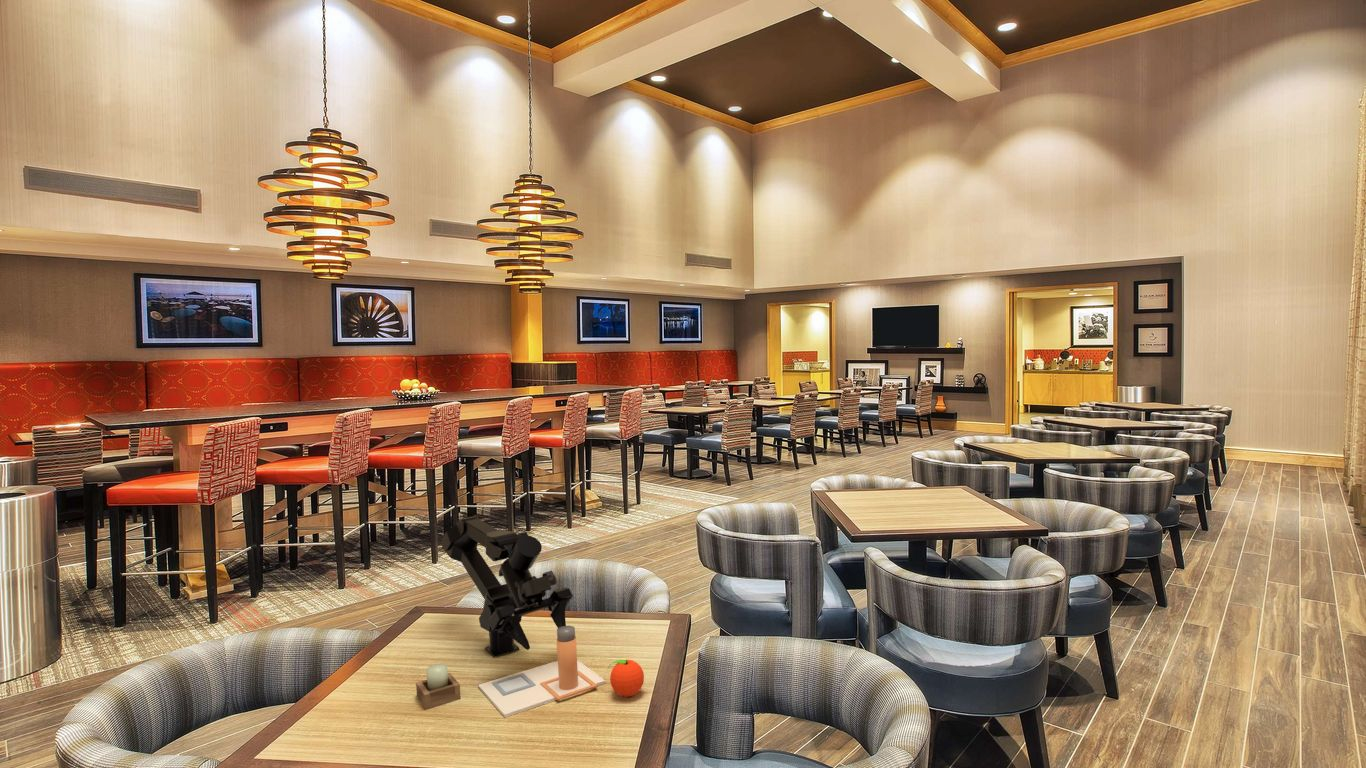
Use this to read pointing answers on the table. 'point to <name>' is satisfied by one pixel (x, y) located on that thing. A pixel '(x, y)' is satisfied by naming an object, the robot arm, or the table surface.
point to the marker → (567, 658)
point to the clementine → (626, 677)
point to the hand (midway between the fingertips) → (547, 642)
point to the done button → (437, 676)
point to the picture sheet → (535, 688)
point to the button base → (438, 693)
